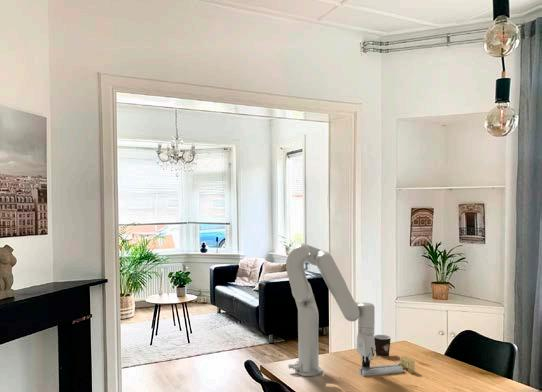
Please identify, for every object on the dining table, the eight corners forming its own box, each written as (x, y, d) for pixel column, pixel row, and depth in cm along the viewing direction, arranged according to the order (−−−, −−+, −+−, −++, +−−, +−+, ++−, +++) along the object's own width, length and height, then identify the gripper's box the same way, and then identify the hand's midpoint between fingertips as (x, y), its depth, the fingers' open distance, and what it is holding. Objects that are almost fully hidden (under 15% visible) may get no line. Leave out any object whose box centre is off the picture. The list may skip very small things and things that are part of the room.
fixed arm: (363, 376, 189) (363, 370, 189) (362, 375, 191) (362, 369, 191) (402, 372, 194) (402, 366, 194) (401, 371, 196) (401, 365, 196)
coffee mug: (389, 354, 224) (389, 335, 225) (392, 359, 216) (392, 339, 217) (367, 353, 226) (367, 334, 226) (369, 358, 217) (369, 338, 218)
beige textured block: (409, 373, 193) (408, 361, 193) (400, 367, 200) (400, 356, 200) (414, 372, 194) (414, 361, 194) (405, 367, 201) (405, 356, 201)
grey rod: (361, 374, 192) (360, 367, 192) (359, 372, 194) (359, 366, 194) (402, 370, 196) (402, 364, 197) (400, 369, 198) (400, 362, 198)
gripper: (351, 326, 203) (351, 365, 202) (366, 334, 189) (366, 376, 188) (365, 325, 205) (365, 363, 204) (381, 333, 191) (381, 375, 190)
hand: (365, 369), depth 196 cm, fingers closed
